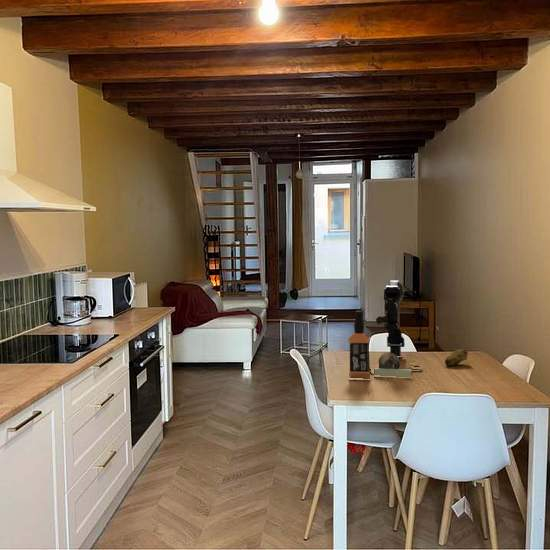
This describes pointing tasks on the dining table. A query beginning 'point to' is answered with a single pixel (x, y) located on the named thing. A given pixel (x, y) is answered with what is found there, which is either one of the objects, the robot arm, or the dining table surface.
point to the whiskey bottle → (359, 350)
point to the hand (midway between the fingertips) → (392, 340)
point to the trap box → (416, 366)
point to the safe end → (393, 372)
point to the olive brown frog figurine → (456, 357)
